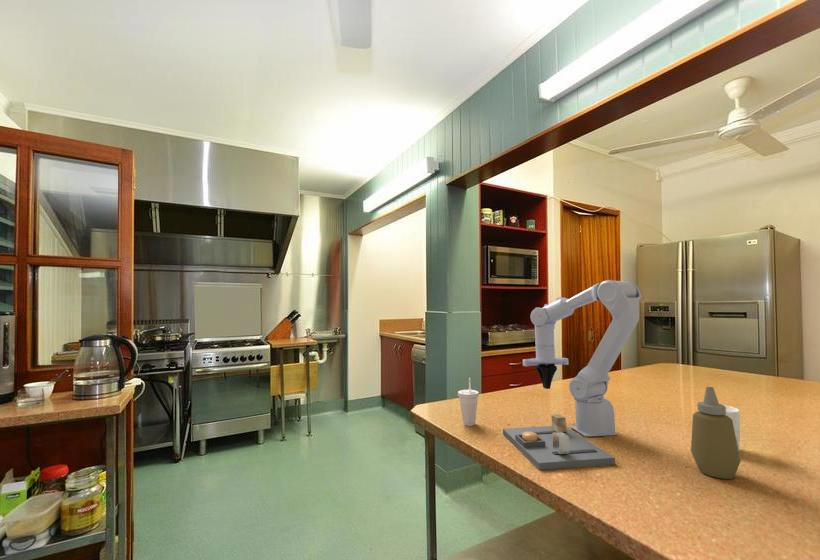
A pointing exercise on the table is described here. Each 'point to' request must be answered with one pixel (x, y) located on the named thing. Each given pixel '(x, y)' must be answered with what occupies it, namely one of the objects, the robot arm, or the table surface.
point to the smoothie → (468, 405)
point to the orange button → (529, 436)
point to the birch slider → (558, 423)
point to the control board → (548, 458)
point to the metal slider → (561, 443)
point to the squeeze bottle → (714, 439)
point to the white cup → (734, 421)
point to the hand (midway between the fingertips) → (546, 388)
